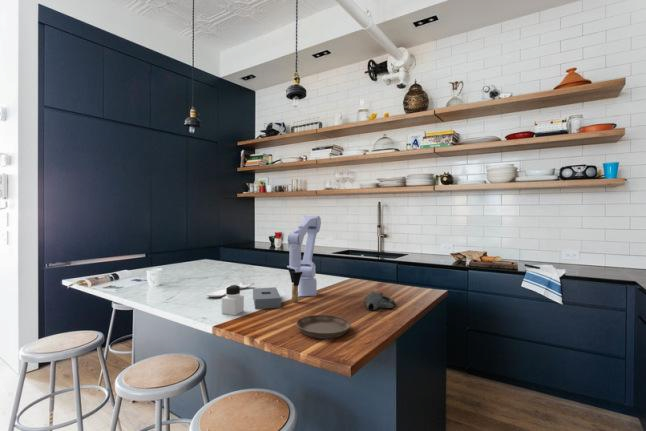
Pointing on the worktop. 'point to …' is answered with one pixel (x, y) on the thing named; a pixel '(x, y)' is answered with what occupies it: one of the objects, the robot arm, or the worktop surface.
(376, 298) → the grey tapered shape
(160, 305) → the worktop surface
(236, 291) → the medicine bottle
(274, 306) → the hole block
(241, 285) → the spoon
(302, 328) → the plant saucer
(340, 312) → the worktop surface
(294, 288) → the peg
